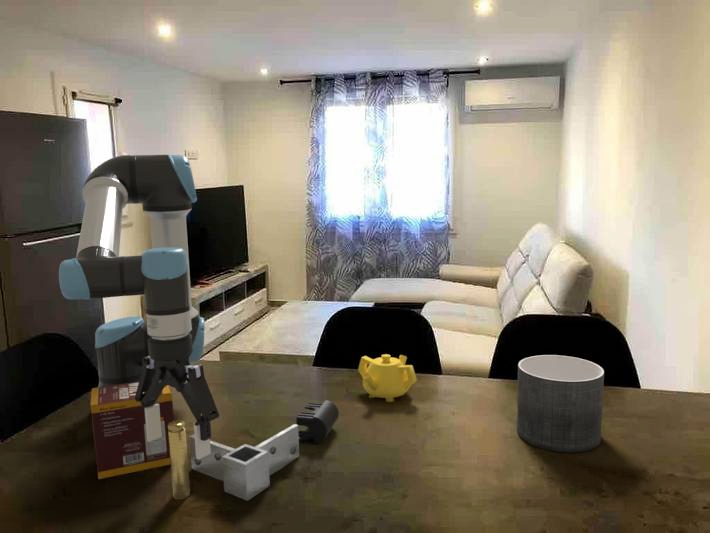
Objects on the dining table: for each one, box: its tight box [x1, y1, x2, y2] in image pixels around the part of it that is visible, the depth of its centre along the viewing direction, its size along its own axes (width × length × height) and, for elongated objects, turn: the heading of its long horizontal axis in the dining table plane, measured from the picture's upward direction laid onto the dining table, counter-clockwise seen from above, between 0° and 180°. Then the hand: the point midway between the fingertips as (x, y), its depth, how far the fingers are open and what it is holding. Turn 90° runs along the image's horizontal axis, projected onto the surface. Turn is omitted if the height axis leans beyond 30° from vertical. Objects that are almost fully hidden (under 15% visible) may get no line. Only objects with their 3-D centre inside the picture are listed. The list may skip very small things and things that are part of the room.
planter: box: [516, 354, 605, 454], centre depth 125 cm, size 18×18×16 cm
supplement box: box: [89, 382, 175, 480], centre depth 118 cm, size 10×15×16 cm
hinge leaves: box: [189, 423, 300, 501], centre depth 114 cm, size 18×18×7 cm
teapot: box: [357, 353, 418, 403], centre depth 151 cm, size 20×18×11 cm
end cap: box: [295, 399, 340, 446], centre depth 128 cm, size 10×7×7 cm
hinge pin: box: [168, 420, 191, 500], centre depth 104 cm, size 3×3×14 cm
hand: (178, 447), depth 103 cm, fingers open, 13 cm apart
